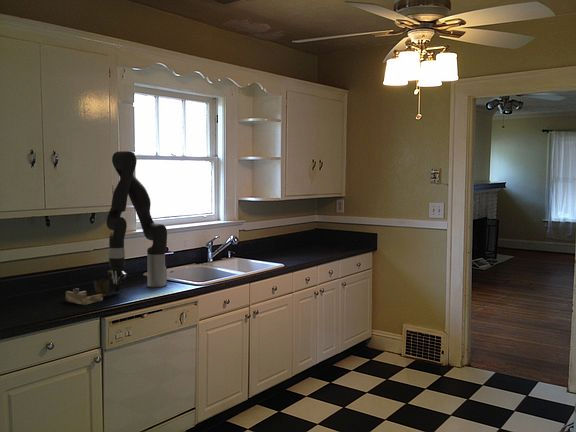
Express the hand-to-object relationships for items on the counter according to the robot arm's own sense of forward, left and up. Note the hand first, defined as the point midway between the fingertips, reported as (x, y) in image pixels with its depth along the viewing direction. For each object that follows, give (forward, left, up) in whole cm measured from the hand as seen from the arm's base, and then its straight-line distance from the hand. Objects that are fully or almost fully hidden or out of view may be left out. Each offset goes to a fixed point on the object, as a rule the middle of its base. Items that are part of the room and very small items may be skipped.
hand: (117, 291), depth 278 cm
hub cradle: (+19, 0, -1) cm, 19 cm away
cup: (+9, 0, -2) cm, 9 cm away
